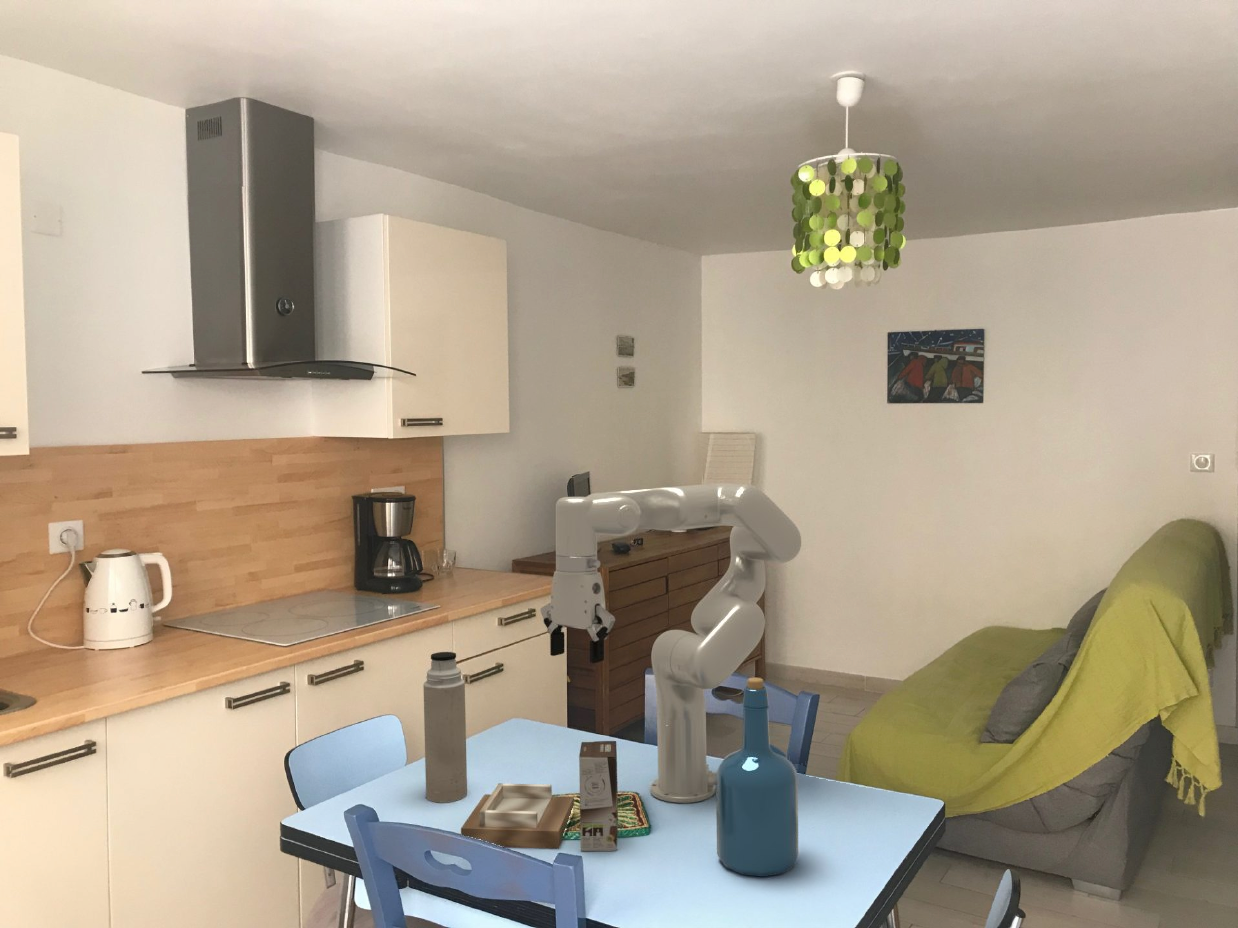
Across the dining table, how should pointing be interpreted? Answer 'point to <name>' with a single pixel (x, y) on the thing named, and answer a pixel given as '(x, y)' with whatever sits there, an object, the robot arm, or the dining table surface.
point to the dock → (520, 817)
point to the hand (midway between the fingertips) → (576, 658)
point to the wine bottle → (757, 797)
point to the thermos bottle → (445, 730)
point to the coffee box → (598, 796)
